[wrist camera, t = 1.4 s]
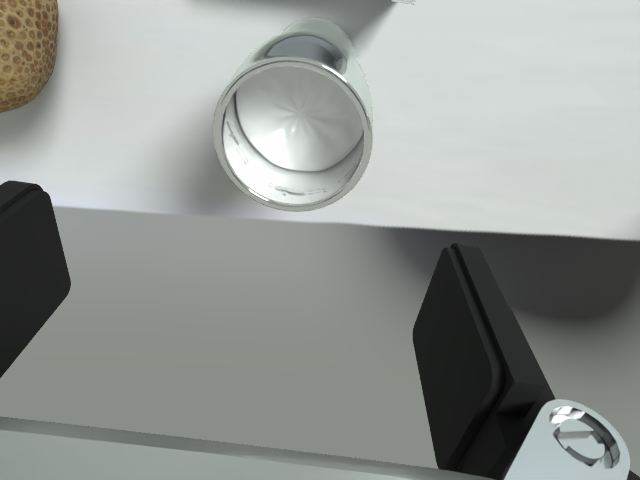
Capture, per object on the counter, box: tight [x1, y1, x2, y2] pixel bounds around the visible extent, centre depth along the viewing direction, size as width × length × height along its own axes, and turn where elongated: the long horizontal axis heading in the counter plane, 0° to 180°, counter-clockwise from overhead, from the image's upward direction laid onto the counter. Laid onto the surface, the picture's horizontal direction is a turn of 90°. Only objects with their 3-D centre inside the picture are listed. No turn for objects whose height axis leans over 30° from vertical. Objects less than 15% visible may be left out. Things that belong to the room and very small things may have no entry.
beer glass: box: [213, 18, 373, 212], centre depth 23 cm, size 7×7×15 cm
